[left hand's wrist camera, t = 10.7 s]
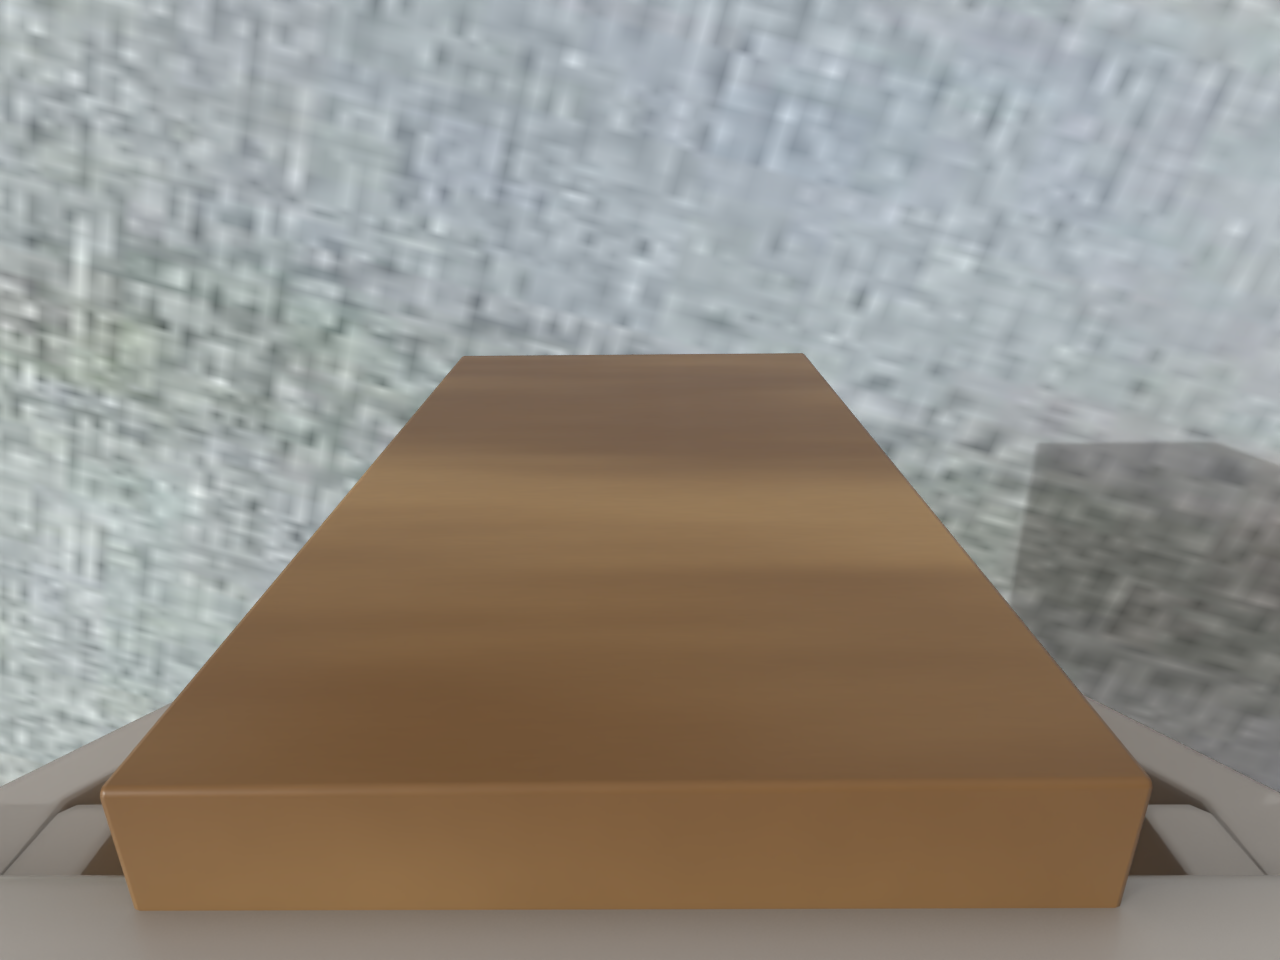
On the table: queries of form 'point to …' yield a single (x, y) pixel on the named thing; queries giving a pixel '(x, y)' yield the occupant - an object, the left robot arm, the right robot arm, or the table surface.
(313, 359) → the table surface
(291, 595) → the box
